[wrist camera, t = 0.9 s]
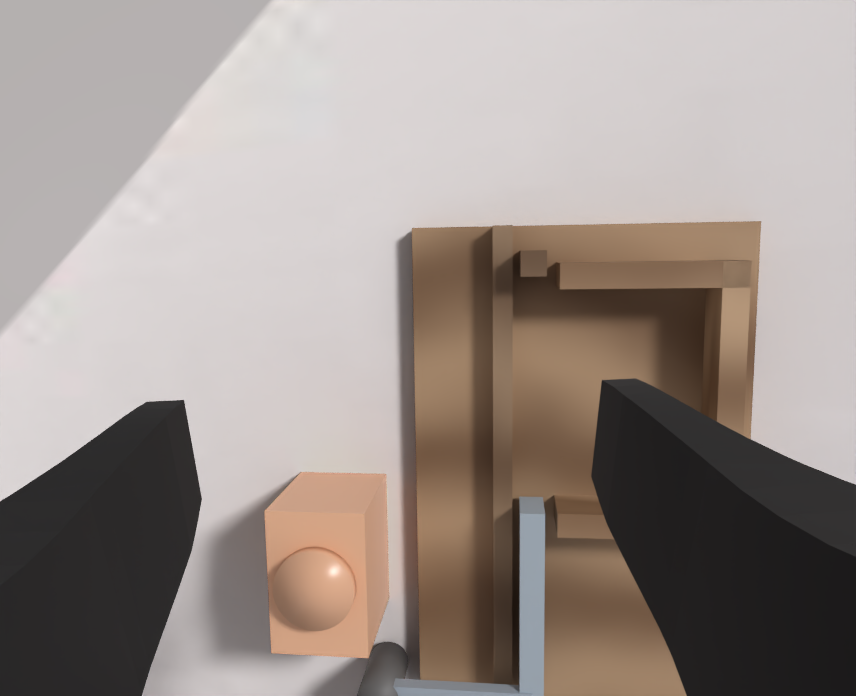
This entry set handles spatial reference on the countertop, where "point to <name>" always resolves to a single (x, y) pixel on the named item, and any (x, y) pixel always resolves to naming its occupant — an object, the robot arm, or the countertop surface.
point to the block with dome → (327, 564)
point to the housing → (558, 427)
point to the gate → (385, 673)
